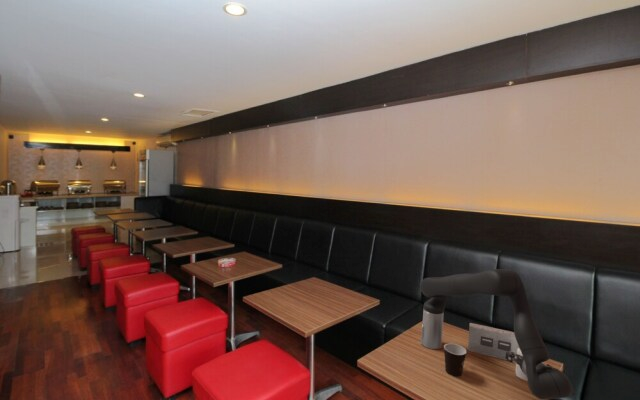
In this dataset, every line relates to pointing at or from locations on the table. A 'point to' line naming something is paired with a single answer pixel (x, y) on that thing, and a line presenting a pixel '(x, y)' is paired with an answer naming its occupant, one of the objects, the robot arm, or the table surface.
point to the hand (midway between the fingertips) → (524, 358)
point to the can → (518, 369)
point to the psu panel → (491, 341)
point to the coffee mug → (454, 359)
